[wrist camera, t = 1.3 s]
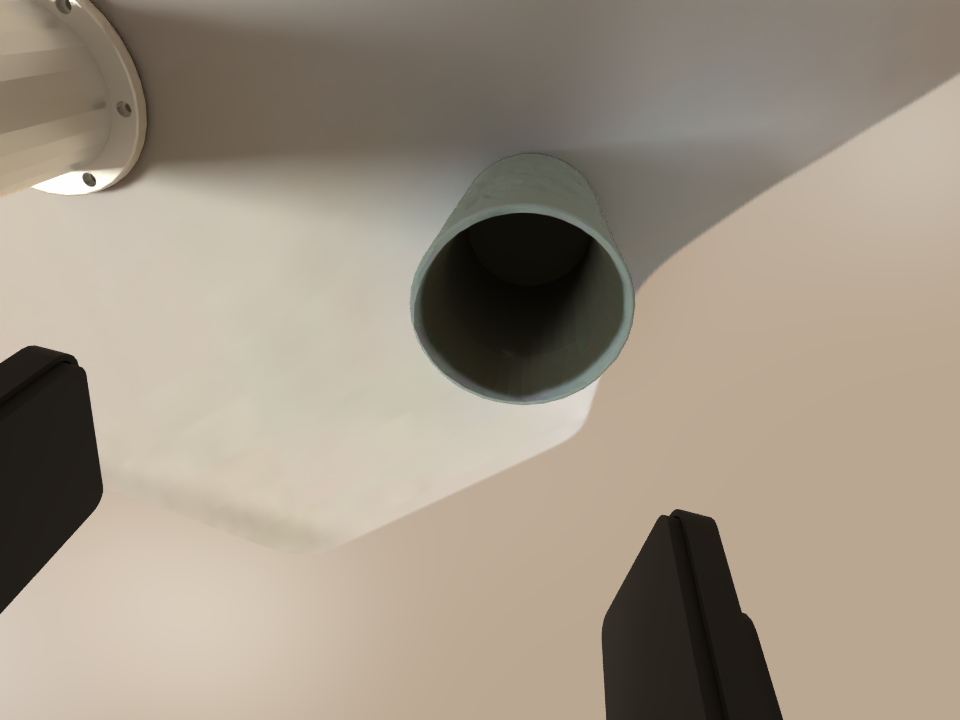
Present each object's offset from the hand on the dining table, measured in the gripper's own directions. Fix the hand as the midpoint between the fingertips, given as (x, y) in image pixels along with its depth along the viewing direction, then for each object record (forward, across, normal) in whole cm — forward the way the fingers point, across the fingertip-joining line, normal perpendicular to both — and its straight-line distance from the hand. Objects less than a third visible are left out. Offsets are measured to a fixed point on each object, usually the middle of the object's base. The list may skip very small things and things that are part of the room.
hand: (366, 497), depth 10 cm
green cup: (+30, -3, +5) cm, 30 cm away
